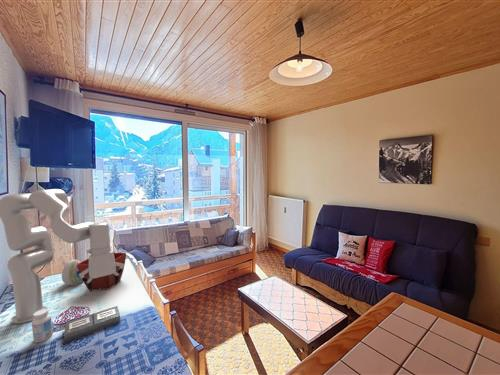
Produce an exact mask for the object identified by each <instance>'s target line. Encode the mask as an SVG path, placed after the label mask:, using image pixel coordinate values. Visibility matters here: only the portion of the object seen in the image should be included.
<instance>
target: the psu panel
mask: <svg viewBox="0 0 500 375" xmlns="http://www.w3.org/2000/svg"><path fill="white" fill-rule="evenodd" d="M121 321H122V320H121V314H120V310H119V306H118V305H116V306H112V307H110V308H107V309H103V310H100V311H97V312H93V313H91V314H88V315H84V316H81V317H78V318H76V319H72V320H69V321H66V322H65V325H64V333H63V334H64V335H63V337H64V343H65V342H69V341H71V340H75V339H76V338H80V337H83V336H85V335H88V334H91V333H93V332H97V331H99V330H101V329H104V328H108V327H110V326H113V325H116V324H118V323H121Z"/></svg>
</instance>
